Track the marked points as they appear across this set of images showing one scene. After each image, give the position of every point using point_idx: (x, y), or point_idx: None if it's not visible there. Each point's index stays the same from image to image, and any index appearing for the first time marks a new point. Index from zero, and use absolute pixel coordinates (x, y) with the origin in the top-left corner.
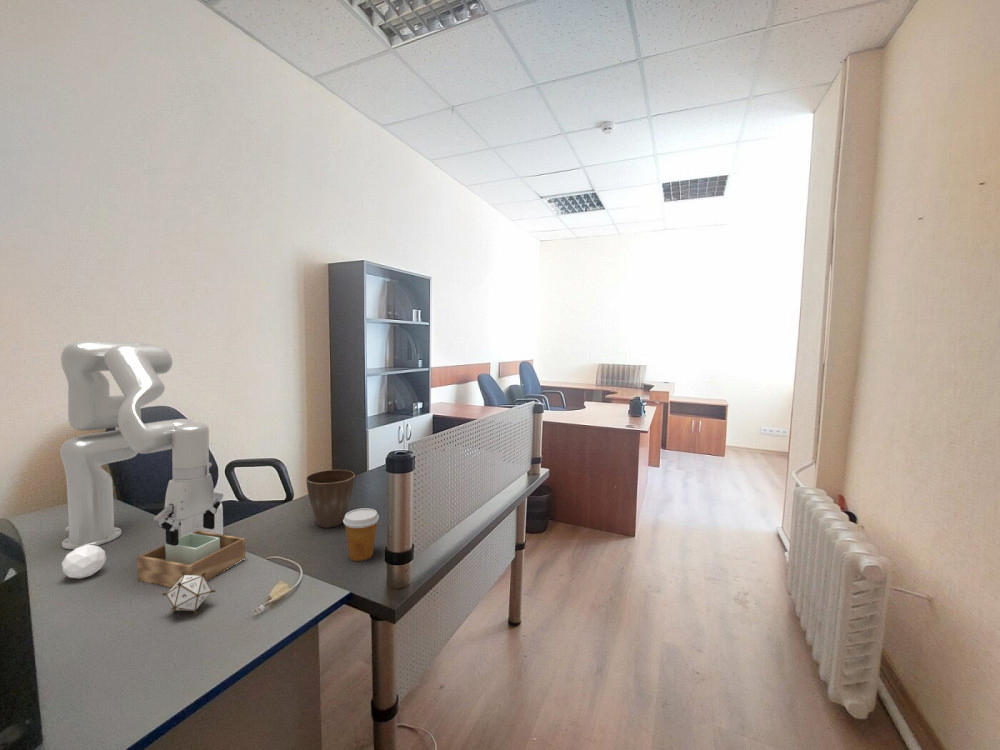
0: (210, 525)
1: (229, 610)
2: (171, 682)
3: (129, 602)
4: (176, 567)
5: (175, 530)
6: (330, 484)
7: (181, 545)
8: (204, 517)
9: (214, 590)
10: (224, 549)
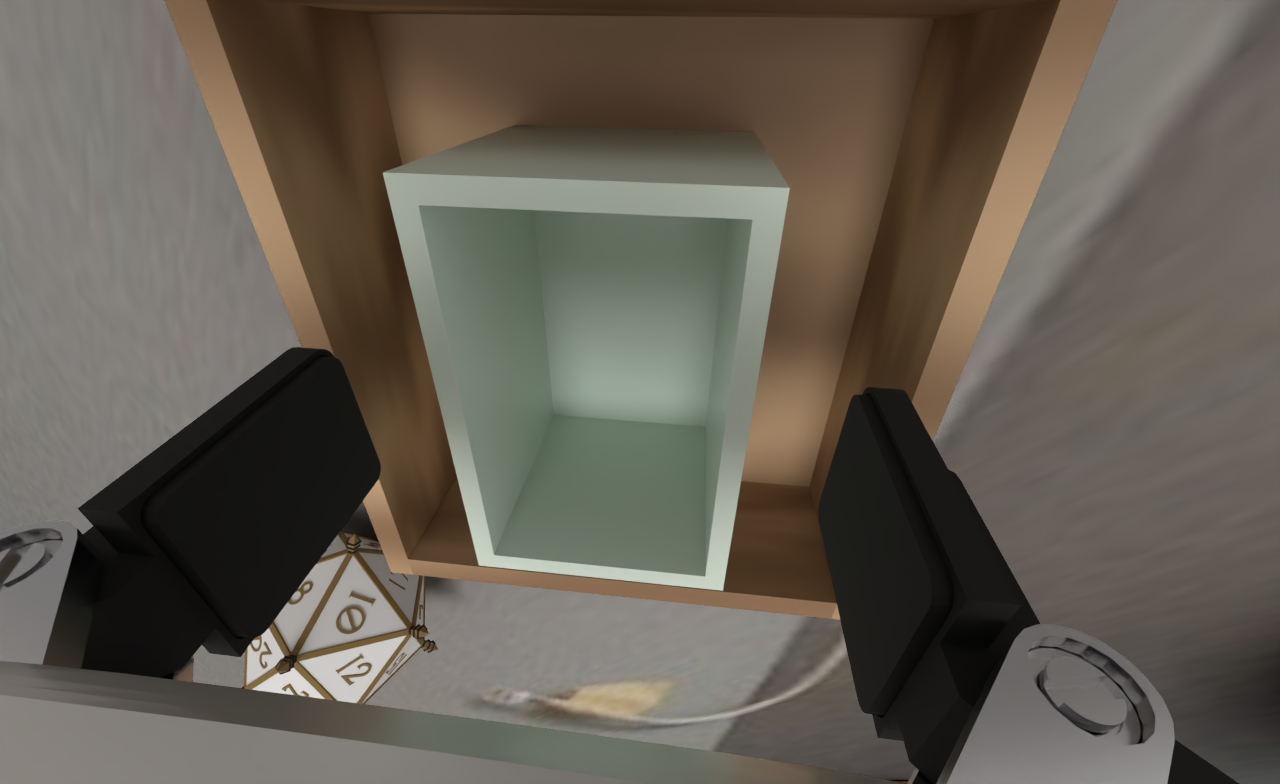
0: (829, 541)
1: (459, 643)
2: (234, 675)
3: (230, 255)
4: None
5: (206, 645)
6: None
7: (461, 411)
8: (897, 556)
9: (430, 650)
10: (662, 596)
